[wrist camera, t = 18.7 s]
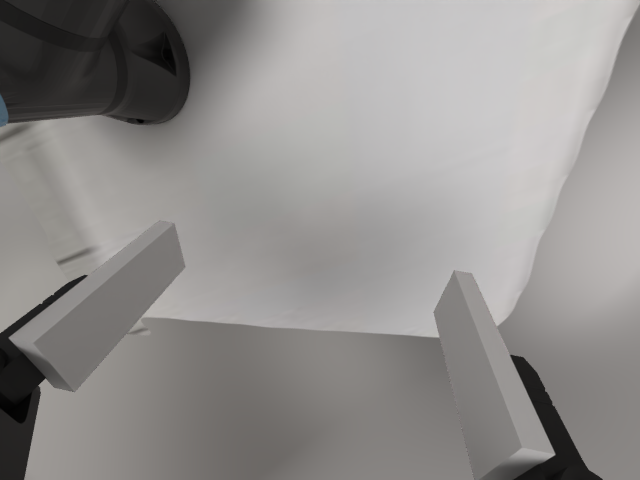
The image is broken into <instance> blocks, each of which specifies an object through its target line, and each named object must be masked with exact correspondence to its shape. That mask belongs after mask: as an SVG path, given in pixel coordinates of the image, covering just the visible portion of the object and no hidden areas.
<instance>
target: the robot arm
mask: <svg viewBox="0 0 640 480" xmlns="http://www.w3.org/2000/svg"><path fill="white" fill-rule="evenodd" d="M189 81H190V74H189V64H188V59H187V55H186V51H185V48H184V45H183V43H182V40H181V38H180V36H179V34H178V32H177V30H176V28H175V26H174V25H173V23H172V22H171V20H170V19H169V17H168V16H167V15H166V14H165V12H164V11H163V10H162V9H161V8H160V7H159V6H158V5H157V4H156V3H155V2H154V1H153V0H0V127H1V126H4V125H6V124H8V123H18V122H29V121H39V120H50V119H60V118H71V117H81V116H91V115H104V116H107V117H111V118H114V119H118V120H121V121H124V122H128V123H132V124H138V125H149V124H156V123H161V122H165V121H167V120H169V119H171V118H172V117H174V116H175V115H176V114H177V113H178V112H179V111H180V109H181V108H182V106H183V105H184V103H185V100H186V98H187V94H188V90H189ZM184 268H185V263H184V260H183V256H182V252H181V248H180V244H179V240H178V236H177V232H176V228H175V224H174V223H170V222H164V221H158V222H157V223H156V224H154V225H153V226H152V227H151V228H149V229H148V230H147V231H145V232H144V233H143V234H142V235H140V236H139V237H138V238H136V239H135V240H134V241H133V242H131V243H130V244H129V245H127V246H126V247H125V248H124V249H122V250H121V251H120V252H118V253H117V254H116V255H114V256H113V257H112V258H111V259H109V260H108V261H107V262H105V263H104V264H103V265H102V266H100V267H99V268H98V269H96V270H95V271H94V272H93V273H91V274H90V275H89V276H88V275H83V276H81V277H79V278H77V279H75V280H73V281H71V282H69V283H67V284H66V285H64V286H63V287H62V288H60V289H59V290H58V291H56V292H55V293H54V295H51V296H50V297H48V298H47V299H46V300H44V301H43V303H42V304H39V305H38V306H36V307H35V308H34V309H32V310H31V311H30V312H28V313H27V314H26V315H24V316H23V317H22V318H20V319H19V320H18V321H16V322H15V323H14V324H12V325H11V326H9V327H8V328H7V329H6V330H4V331H3V332H1V333H0V480H24V477H25V472H26V467H27V461H28V457H29V451H30V446H31V440H32V436H33V430H34V425H35V420H36V415H37V410H38V405H39V399H40V394H41V392H40V387H39V386H38V385H39V384H40V383H41V382H42V381H43V380H44V379H45V378H46V379H47V380H48V381H49V382H50V384H51V385H52V386H53V387H55V388H59V389H63V390H68V391H72V392H75V391H76V390H77V389H78V388H79V387H80V386H81V384H82V383H83V382H84V381H85V380H86V379H87V378H88V377H89V375H90V374H91V373H92V372H93V371H94V370H95V369H96V368H97V366H98V365H99V364H100V363H101V362H102V361H103V360H104V358H105V357H106V356H107V355H108V354H109V353H110V352H111V350H112V349H113V348H114V347H115V346H116V345H117V344H118V342H119V341H120V340H121V339H122V338H123V337H124V336H125V335H126V334H127V332H128V331H129V330H130V329H131V328H132V327H133V326H134V325H135V323H136V322H137V321H138V320H139V319H140V318H141V317H142V315H143V314H144V313H145V312H146V311H147V310H148V309H149V308H150V306H151V305H152V304H153V303H154V302H155V301H156V300H157V298H158V297H159V296H160V295H161V294H162V293H163V292H164V291H165V289H166V288H167V287H168V286H169V285H170V284H171V283H172V282H173V280H174V279H175V278H176V277H177V276H178V275H179V274H180V272H181V271H182V270H183V269H184ZM434 316H435V320H436V324H437V328H438V332H439V336H440V340H441V345H442V349H443V352H444V357H445V361H446V365H447V369H448V373H449V378H450V381H451V386H452V390H453V394H454V398H455V402H456V406H457V411H458V414H459V419H460V423H461V427H462V431H463V435H464V439H465V444H466V448H467V452H468V456H469V460H470V464H471V468H472V472H473V477H474V480H603V479H601V478H600V477H599V476H597V475H596V474H594V473H593V472H591V471H589V470H588V468H587V467H586V465H585V463H584V462H583V460H582V458H581V456H580V455H579V453H578V451H577V449H576V447H575V445H574V443H573V441H572V439H571V437H570V435H569V433H568V431H567V429H566V428H565V426H564V424H563V422H562V420H561V418H560V416H559V414H558V412H557V410H556V409H555V407H554V406H553V405H552V401H551V399H550V397H549V395H548V393H547V392H545V387H544V386H543V384H542V382H541V380H540V378H539V376H538V374H537V372H536V371H535V370H534V369H533V368H532V367H531V365H530V364H529V363H528V362H527V361H526V360H525V359H524V358H523V357H519V356H514V355H509V353H508V350H507V348H506V346H505V344H504V342H503V340H502V337H501V335H500V333H499V331H498V329H497V327H496V324H495V322H494V320H493V318H492V316H491V314H490V311H489V309H488V307H487V305H486V303H485V301H484V298H483V296H482V294H481V292H480V290H479V288H478V285H477V283H476V281H475V279H474V277H473V275H472V273H466V272H460V271H454V272H453V274H452V276H451V278H450V280H449V282H448V284H447V286H446V288H445V290H444V292H443V294H442V296H441V298H440V300H439V302H438V304H437V306H436V308H435V310H434Z"/></svg>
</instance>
